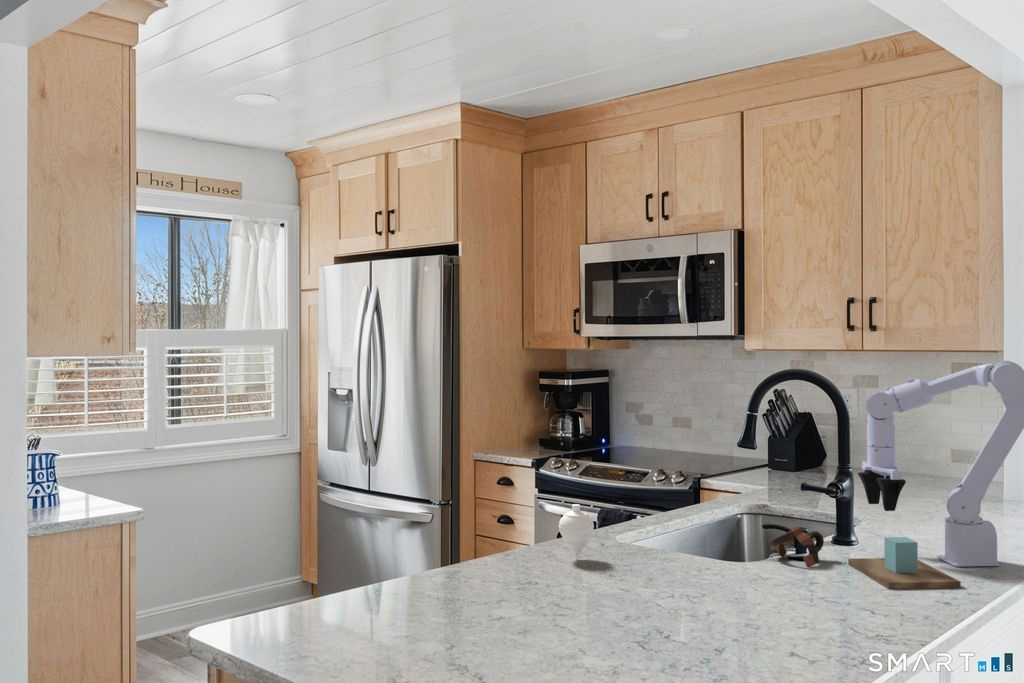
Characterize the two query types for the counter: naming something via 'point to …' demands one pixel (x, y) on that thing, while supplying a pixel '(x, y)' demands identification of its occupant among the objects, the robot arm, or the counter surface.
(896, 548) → the teal block
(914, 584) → the walnut board
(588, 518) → the spinning top
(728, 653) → the counter surface
